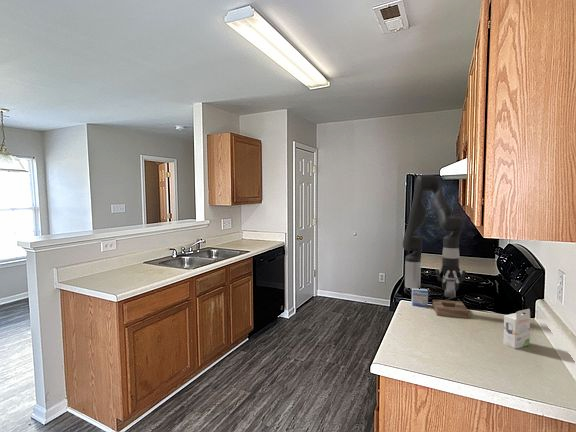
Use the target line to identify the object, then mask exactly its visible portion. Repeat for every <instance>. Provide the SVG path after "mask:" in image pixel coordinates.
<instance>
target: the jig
mask: <svg viewBox="0 0 576 432" xmlns="http://www.w3.org/2000/svg"><path fill="white" fill-rule="evenodd" d="M431 304H432V308H433V311H434V312H435V314H436V316H437V317H438V316H440V317H452V318H464V319H469V318H470V317H469V316H470V314H469V313H470V311H469V309H468V308H467V307H466V306H465V304H464V303H463V302H462V301H458V300H456V301H455V300H444V299H432V303H431Z"/></svg>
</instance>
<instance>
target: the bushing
mask: <svg viewBox="0 0 576 432" xmlns="http://www.w3.org/2000/svg"><path fill="white" fill-rule="evenodd" d="M445 279H446V281H445V283H446V289H445V290H444V297H445V298H449V299H452V298H453V299H455V298H456V291H455V289H456V280H457V279H456V278H455V277H451V276H450V277H446V278H445Z"/></svg>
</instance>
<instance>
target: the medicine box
mask: <svg viewBox="0 0 576 432" xmlns="http://www.w3.org/2000/svg"><path fill="white" fill-rule="evenodd" d="M428 303H429V289H427V288H420V289H419V288H412V289H411V306H413V307H426V308H427V307H428V306H429V304H428Z"/></svg>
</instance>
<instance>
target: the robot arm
mask: <svg viewBox="0 0 576 432" xmlns="http://www.w3.org/2000/svg"><path fill="white" fill-rule="evenodd" d="M413 190H414V191H413V199H412V203H411V207H410V210H409V211H410V212H409V215H408V221H407V226H406V229H405V232H404V236H403V239H402V248H403V250H405V251H413V252H412V253H410V254H407V255H406V256H405V258H404V260H405V261H404V263H405V264H404V288H406V289H408V288H410V289H409V290H412V288H420V289H421V276H422V275H421V270H422V268H421V267H422V265H421V264H422V261H421V260H422V252H423V251H422V250H423V249H422V248H423V240H422V237H421V236H419V235H414V234H415V232H416V231H418V229H420V228H421V227H422V226H423V225H424V223H425V221H426V218H427V214H428V210H427V207H426V205H425V203H424V201H423V193H424V192H432V193H433V194H434V197H433V201H432V207H433V209H434V211H435V213H436V214H437V218H438V223H439V228H440V229H441V230H443V231H444V232H450V233H449V234H448V235H444V236H443V238H442V239H443V240H442V246H443V247H442V254H441V255H442V256H441V257H442V258H441V261H442V262H441V264H442V265H441V268H435V273H436V277H437V280H438V281H439V282H441V288H442V289H443V290H444V291H445V289H446V283H445V281H446V279H445V278H446V277H450V276H451V277H455V278H456V279H457V280H456V289H455V292H457V291H458V290H459V285H460V283H463V282H464V280H465V276H466V273H467V272H466V270H465V269H460V239H461V235H462V233H463V228H464V221H463V219H462V218H461V217H459V216H452V214H453V210H452V208H451V207H450V205H449V203H448V202H447V200H446V198H445V195H444V192H443V189H442V187H441V184H440V182H439V180H438V177H437V176H436V175H434V174H420V175H417V177H416V178H415V181H414V189H413ZM441 273H443V275H442V277H441ZM458 274H460V276H459V279H458V276H457V275H458Z"/></svg>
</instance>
